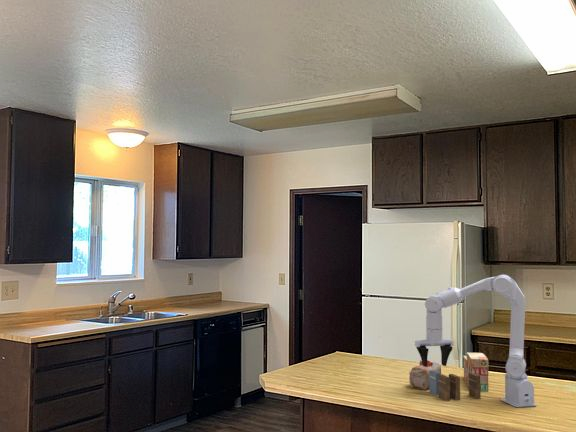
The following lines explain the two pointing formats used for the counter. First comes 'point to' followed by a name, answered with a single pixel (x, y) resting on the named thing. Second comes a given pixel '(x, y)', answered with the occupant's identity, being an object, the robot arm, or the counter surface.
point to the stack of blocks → (476, 368)
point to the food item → (422, 374)
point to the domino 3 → (474, 386)
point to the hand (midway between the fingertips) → (434, 365)
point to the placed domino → (434, 382)
